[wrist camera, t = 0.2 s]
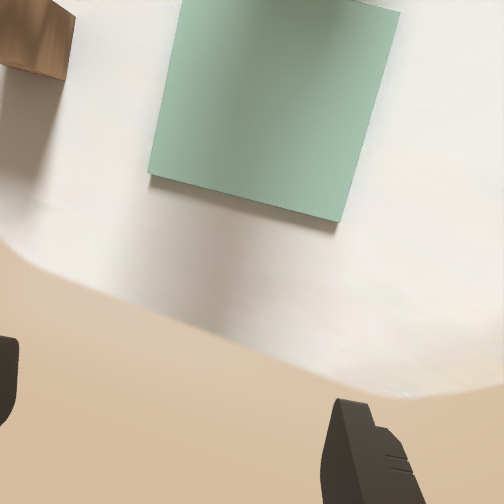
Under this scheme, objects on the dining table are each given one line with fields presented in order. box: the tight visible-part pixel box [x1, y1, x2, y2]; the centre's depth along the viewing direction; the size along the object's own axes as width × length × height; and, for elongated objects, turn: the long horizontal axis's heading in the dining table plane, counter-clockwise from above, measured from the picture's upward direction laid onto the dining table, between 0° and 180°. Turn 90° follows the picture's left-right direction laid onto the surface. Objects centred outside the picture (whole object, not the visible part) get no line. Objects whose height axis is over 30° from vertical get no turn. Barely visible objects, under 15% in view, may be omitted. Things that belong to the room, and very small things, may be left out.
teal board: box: [147, 0, 401, 223], centre depth 37 cm, size 16×16×1 cm
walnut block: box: [0, 0, 76, 81], centre depth 33 cm, size 5×5×10 cm
